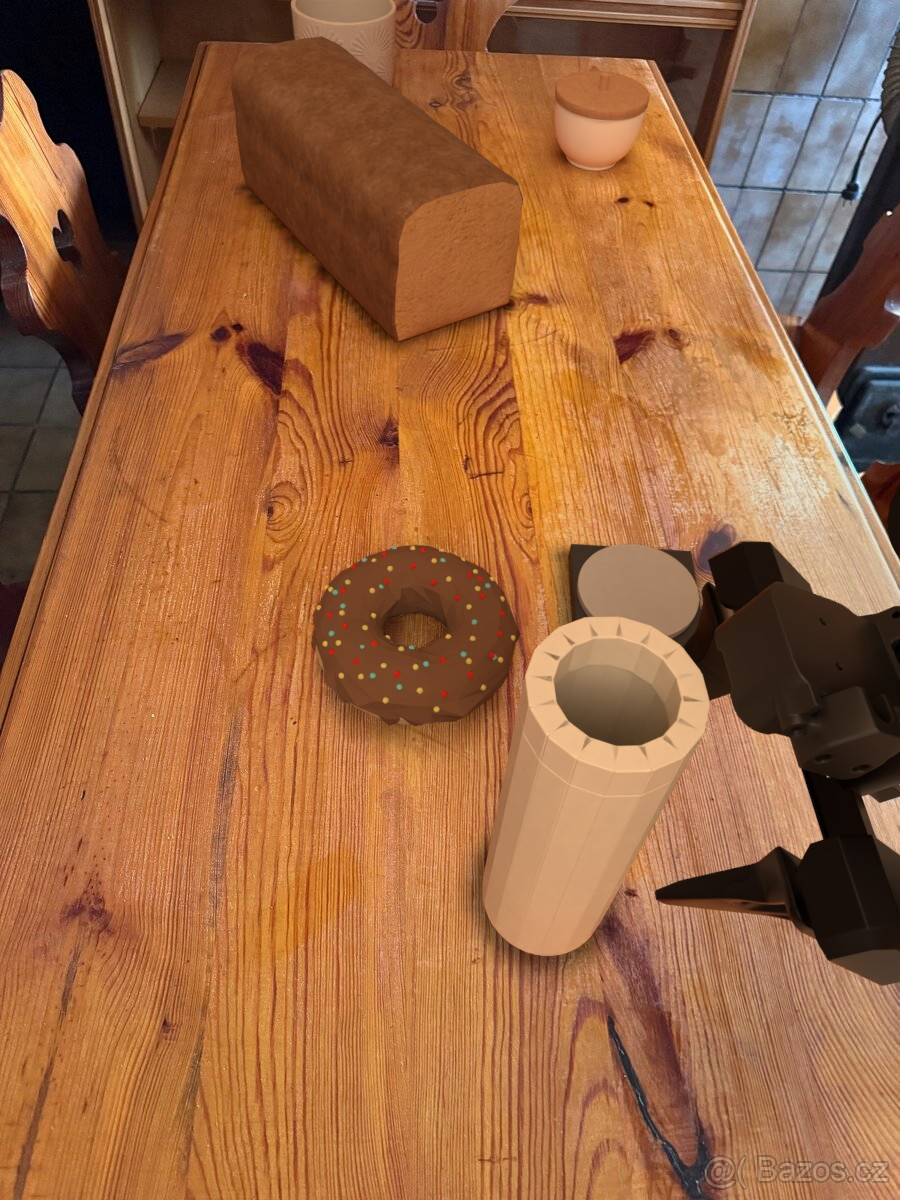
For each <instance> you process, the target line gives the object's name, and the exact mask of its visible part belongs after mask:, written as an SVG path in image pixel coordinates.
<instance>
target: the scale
mask: <svg viewBox="0 0 900 1200" xmlns="http://www.w3.org/2000/svg"><path fill="white" fill-rule="evenodd" d="M567 564H568V566H567V567H568V568H567V569H568V583H569V585H568V586H569V597H570V598H569V599H570V600H569V601H570V613H571V614H570V616H571V622H573V621H576V620H579V619H582V618H584V617H586V618H587V617H624V618H627V619H631V620H634V621H637V622H640V623H644V624H647V625H650V626H653V627H655V628H656V629H658V630H659V631H661V632H662V633H663V634H665V635H666V636H668V637H669V638H671V639H672V640H674V641H675V642H677V643H678V644H680V645H681V647H683V646H684V645H685V643H686V642H687V641H688V640H689V638H690V637H691V636H692V635H693V633H694V632H695V630H696V628H697V625H698V621H699V617H700V613H701V609H702V605H701V601H700V593H699V589H698V585H697V578H696V572H695V566H694V561H693V555H692V551H691V550H681V549H680V550H679V549H665V548H664V549H663V548H656V547H653V546H649V545H644V544H639V543H638V544H636V543H620V544H615V545H599V544H598V545H596V544H580V543H571V544H570V546H569V551H568V556H567Z"/></svg>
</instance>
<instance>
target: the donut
mask: <svg viewBox="0 0 900 1200" xmlns="http://www.w3.org/2000/svg"><path fill="white" fill-rule="evenodd" d="M323 590H324V592H323V594H322V596H321V597H320V599H319V601H318V603H317V605H316V607H315V609H314V610H313V613H312V619H313V620H312V621H313V625H314V629H313V635H312V639H311V648H312V650H313V651H314V652H315V653H316V657H317V660H318V663H319V666H320V667H321V669H322V671H323V673H324V674H323V683H325V685H326V686H327V687H329V689H330V690H332V691H333V692H334V694H335V695H337V696H338V697H339V698H340V700H341V701H342V702H343V703H344V704H350V705H351V706H352V707H354V708H355V709H357V710H360V711H361V712H363V713H365V714H367V715H370V716H371V717H373V718H374V719H377V720H382V721H383V723H385V724H386V725H387V726H392V725H397V724H399V725H403V726H404V725H405V726H406V725H408V726H414V727H419V726H427V725H428V726H430V725H434V724H438V723H439V724H440V723H449V722H456V721H459V720H461V719H463V718H465V717H467V716H469V715H470V714H472V713H473V712H474V711H475V710H477V709H479V707H481V706H483V705H484V704H486V703H487V702H488V701H489V700H491V699H492V698H493V697H494V696H495V694H496V693H497V692H498V691H499V690H500V689H501V688H502V687H503V685H504V684H505V682H506V681H507V679H508V677H509V673H510V669H511V667H512V664H513V659H514V656H515V652H516V647H517V642H518V641H519V639H520V637H521V635H522V633H521V631H520V629H519V626H518V624H517V620H516V619H515V616H514V614H513V611H512V609H511V605H510V604H509V602H508V598H507V596H506V593H505V592H504V590H502V588H501V587H500V586H499V584H498V583H497V582H496V578H495V577H494V576H491V574H490V573H489V572H488V571H487V570H486V569H485V568H484V567H483V566H480V565H478V564H476V563H474V562H472V561H469V560H467V559H466V558H465V557H463V556H462V557H460V556H458V554H457V555H456V554H455V553H452V552H449V551H445V550H444V549H443V548H437V547H433V546H431V545H424V543H423V542H418V543H417V544H410V545H409V544H408V545H401V546H396V545H392V546H391V548H389V549H385V550H381V551H379V552H376V553H371V554H369V555H367V556H366V557H363V558H361V559H360V560H359V561H357V562H355V563H353V564H350V563H349V564H347V565H346V568H344V569H343V570H341V571H340V572H338V573H337V574H336V575H335V576H334V577H333V579H332V580H331V581H330V582H329V584H325V585H324V587H323ZM417 614H418V615H424V616H426V617H429V618H433V619H435V620H437V621H438V622H439V623H440V624H441V625H442V626H443V627H444V628H445V629H446V631H445V635H444V636H443V637H439V638H434V639H432V640H431V641H430V642H428V643H427V644H426V645H423V646H420V647H415V646H414V645H412V644H410V645H409V646H406V645H399V644H396V643H394V642H393V641H392V640H391V636H390V635H388V634H386V635H385V628H386V626H387V625H389V623H391V622H392V621H393V620H394V619H397V618H399V617H401V616H406V615H417Z"/></svg>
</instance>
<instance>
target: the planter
mask: <svg viewBox="0 0 900 1200" xmlns="http://www.w3.org/2000/svg"><path fill="white" fill-rule="evenodd" d="M290 9H291V19H292V27H293V36H294V38H293V39H294V40H298V39H304V38H313V37H324V38H326V39H329V40H331V41H333V42H335V43H337V44H339V45H340V46H342V47H343V48H344V49H346V50H347V51H348V52H349V53H350V54H352V55H353V56H354V57H355V58H356V59H358V60H359V61H360V62H362V63H363V64H364V65H366V66H367V67H368V68H370V69H371V70H372V71H373V72H375V73H376V74H377V75H378V76H379V77H381V78H382V79H383V80H384V81H385V82H386V83H388V84H389V85H390V86H391V87H392V88H393V82H394V72H395V57H396V32H397V31H396V29H397V28H396V27H397V24H396V23H397V22H396V21H397V4H396V2H395V1H394V0H291V2H290Z"/></svg>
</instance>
